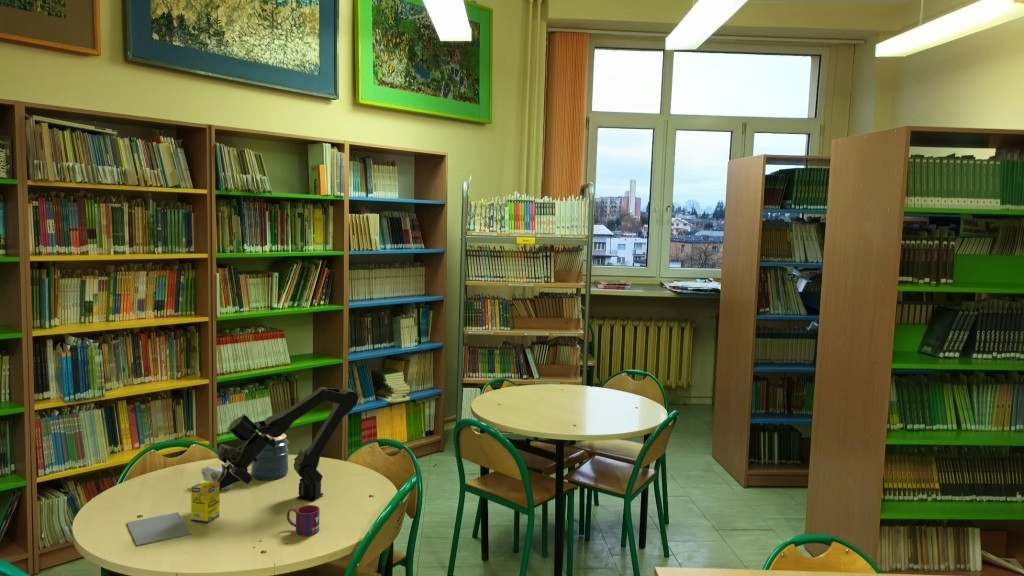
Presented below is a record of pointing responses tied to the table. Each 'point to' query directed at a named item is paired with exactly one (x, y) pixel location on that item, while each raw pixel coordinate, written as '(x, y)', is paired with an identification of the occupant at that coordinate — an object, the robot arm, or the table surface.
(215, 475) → the skull
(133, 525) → the mat
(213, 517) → the supplement box
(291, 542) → the table surface
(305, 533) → the mug
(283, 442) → the canister
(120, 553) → the table surface
